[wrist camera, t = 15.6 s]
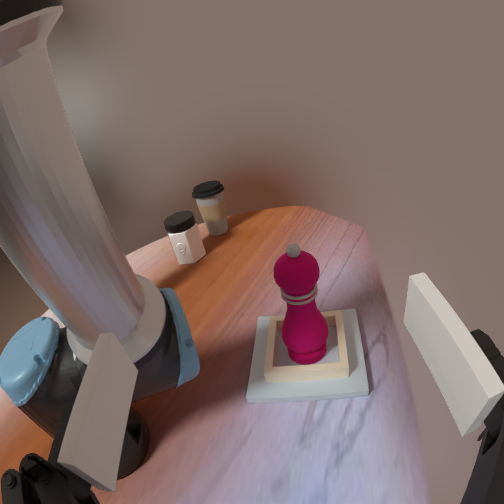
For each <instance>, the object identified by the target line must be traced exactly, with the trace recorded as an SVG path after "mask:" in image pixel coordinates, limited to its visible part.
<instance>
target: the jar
mask: <svg viewBox="0 0 504 504" xmlns="http://www.w3.org/2000/svg"><path fill="white" fill-rule="evenodd" d="M164 225H165V229H166V231H167V233H168V236H169V239H170V242H171V245H172V247H173V250H174V253H175V256H176V258H177V260H178V263H179V264H180V265H182V264H192V263H196V262H197V261H198V260H200V259H201V258H202V257H203V256H205V255H206V252H205V249H204V246H203V242H202V239H201V236H200V233H199V229H198V226H197V224H196V221H195V218H194V215H193V213H192V212H191V211H182V212H178V213H175V214H173V215H171V216H169V217H168V218H166V219H165V221H164Z"/></svg>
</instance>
